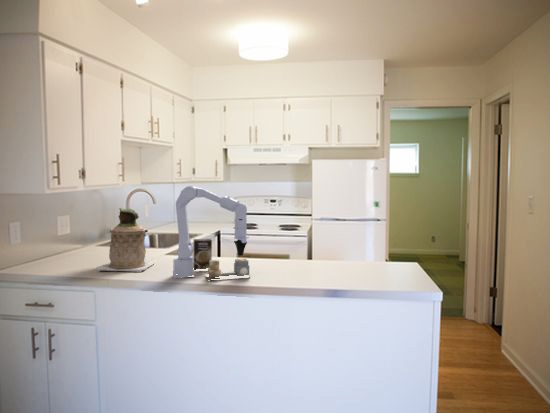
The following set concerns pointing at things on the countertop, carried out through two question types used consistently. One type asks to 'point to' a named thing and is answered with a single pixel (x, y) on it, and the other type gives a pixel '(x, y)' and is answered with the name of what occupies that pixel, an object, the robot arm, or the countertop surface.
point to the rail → (224, 274)
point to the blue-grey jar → (241, 267)
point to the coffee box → (202, 253)
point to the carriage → (214, 268)
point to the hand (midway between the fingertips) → (240, 255)
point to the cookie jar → (127, 245)
